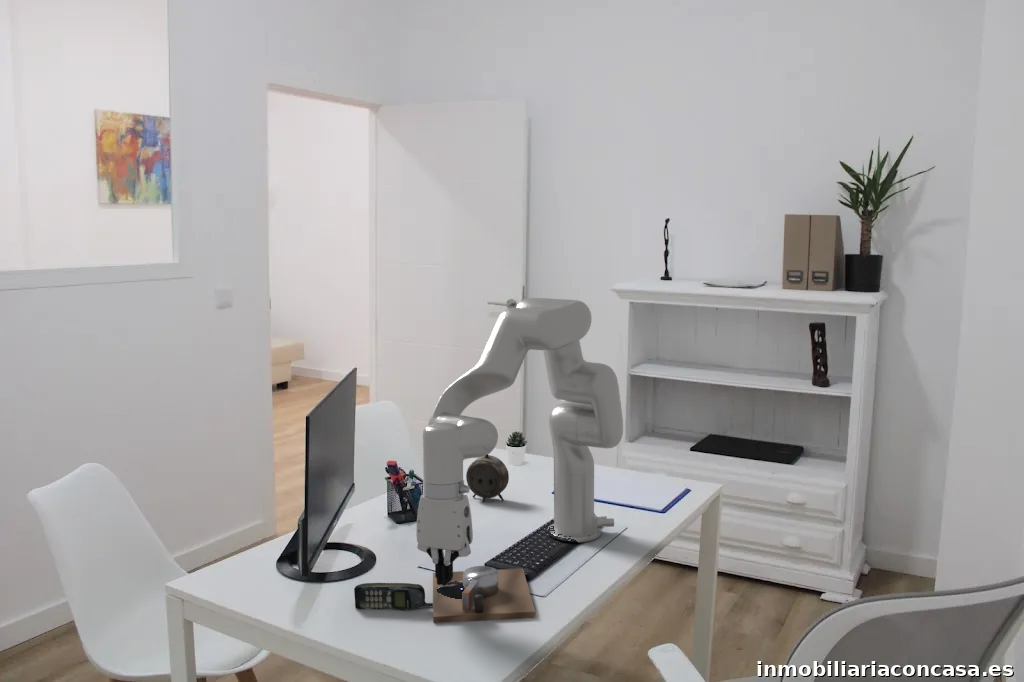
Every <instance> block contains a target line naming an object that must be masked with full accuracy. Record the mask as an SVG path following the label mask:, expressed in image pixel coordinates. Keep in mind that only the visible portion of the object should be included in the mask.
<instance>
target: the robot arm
mask: <svg viewBox="0 0 1024 682" xmlns="http://www.w3.org/2000/svg"><path fill="white" fill-rule="evenodd" d="M591 326H592V312H591V310H590V308H589V306H588V305H587V304H586V303H585V302H583V301H581V300H578V299H565V298H564V299H563V298H562V299H561V298H560V299H559V298H558V299H557V298H544V297H528V298H525V299H521V301H519V302H518V303H517V304H516V306H515V307H511V308H507V309H505V310H504V311H502V312H501V313H499V315H498V316H497V319H496V321H495V323H494V325H493V328H492V329H491V332H490V333H489V336H488V337H487V340H486V343H485V345H484V347H483V349H482V351H481V354H480V355H479V357H478V360H477V362H476V364H475V365H474V366H473V367H472V368H471V369H469V370H468V371H467V372H465V373H464V374H461V376H459V377H458V378H457V379H456V380H455V381H454V382H452V383H451V384H450V385H449V386H448V387H446V389H445V390H444V391H443V392H442V393H441V395H440V397H439V398H438V400H437V402H436V404H435V407H434V408H433V411H432V412H431V416H430V418H429V420H428V424H427V426H425V428H424V429H423V431H422V467H423V468H422V470H423V471H422V477H423V478H422V479H423V480H422V482H423V483H422V484H423V485H422V487H423V488H422V489H423V491H422V492H423V493H422V494H421V495H420V497H419V498H420V499H419V502H418V508H417V515H416V517H417V518H416V530H415V531H416V532H415V533H416V541H417V547H416V548H417V550H418V551H421V552H423V553H426V554H427V555H428V556H429V558H431V560H432V563H433V564H434V569H435V570H434V571H435V572H434V573H435V577H436V578H437V585H441V584H442V585H444V586H445V585H447V584H448V583H449V582H450V581H451V580H452V578H453V572H454V561H456V560H457V559H458V558H466V557H469V555H471V553H472V550H471V546H470V544H472V543H473V540H474V539H473V538H474V537H473V536H474V535H473V534H474V533H473V522H472V521H473V520H472V512H471V506H470V505H471V504H470V501H469V497H468V496H467V495H466V493H467V494H469V493H470V491H471V489H470V487H469V486H468V485H466V484H465V480H464V460H467V459H475V458H476V459H477V458H479V457H483V456H485V455H487V454H488V455H489V454H490V452H491V453H492V452H493V450H494V449H495V447H496V446H497V444H498V440H499V434H498V430H497V427H496V426H495V424H493V423H492V422H491V421H489V420H487V419H484V418H480V417H474V416H468V415H467V416H466V415H462V413H463V412H464V410H466V409H467V407H469V406H470V405H471V404H472V403H474V402H476V401H477V400H479V399H482V398H484V397H486V396H489V395H494V394H495V393H497V392H500V391H503V390H506V389H508V388H510V387H511V386H512V385H514V383H515V381H516V378H517V376H518V373H519V372H520V370H521V368H522V364H523V362H524V360H525V358H526V355H527V353H528V351H531V350H533V351H534V350H535V351H543V356H544V361H545V362H544V363H545V366H546V372H547V373H546V374H547V381H548V386H549V390H550V393H551V395H552V396H553V398H555V399H556V400H558V401H561V402H563V403H560V404H557V405H555V407H553V409H552V410H551V412H550V414H549V418H548V426H549V427H548V428H549V434H550V437H551V442H552V451H553V452H552V453H553V454H552V455H553V515H554V516H553V523H552V524H550V525H549V526H548V528H547V530H548V529H549V527H550V528H553V527H551V526H554V530H555V531H550V532H551V534H553V535H554V536H558V534H562V535H559V536H558V537H561V538H566V539H568V538H571V539H574V540H576V541H577V542H578V543H586V542H592V541H594V540H596V539H598V538H599V537H600V536H601V534H602V533H601V531H602V530H601V528H602V527H606V528H608V527H615V519H614V517H612V518H611V517H610V518H609V517H607V516H605V515H603V516H597V515H596V513H595V460H594V457H593V454H592V451H591V450H590V448H589V447H591V448H598V449H612V448H615V447H617V446H618V445H619V444H620V442H621V440H622V438H623V434H624V419H623V418H624V417H623V410H622V402H621V395H620V394H621V393H620V386H619V380H618V377H617V374H616V373H615V371H614V369H613V368H612V367H610V366H609V365H607V364H605V363H600V362H589V361H586V360H585V359H584V357H583V352H582V346H581V341H580V340H582V339H583V338H584V337H585V336H586V335H588V332H589V331H590V329H591ZM550 530H553V529H550ZM554 532H555V533H554ZM564 536H567V537H564ZM569 536H571V537H569Z"/></svg>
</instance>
